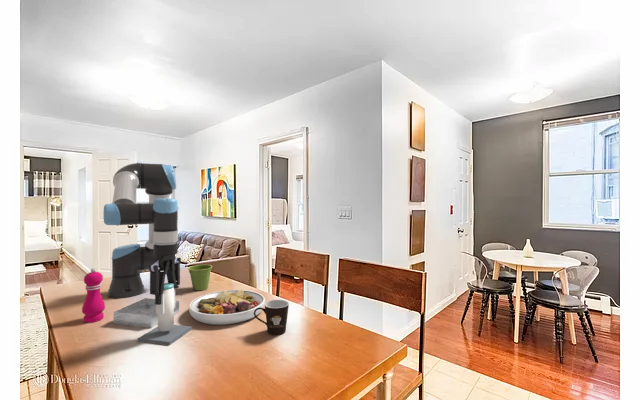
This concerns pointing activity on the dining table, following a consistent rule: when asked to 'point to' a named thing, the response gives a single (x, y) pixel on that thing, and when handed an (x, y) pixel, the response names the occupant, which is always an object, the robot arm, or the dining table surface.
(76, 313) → the dining table surface
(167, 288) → the plug
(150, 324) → the housing
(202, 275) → the plant pot
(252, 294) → the bowl
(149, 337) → the pad
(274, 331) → the coffee mug
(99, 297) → the pepper mill
